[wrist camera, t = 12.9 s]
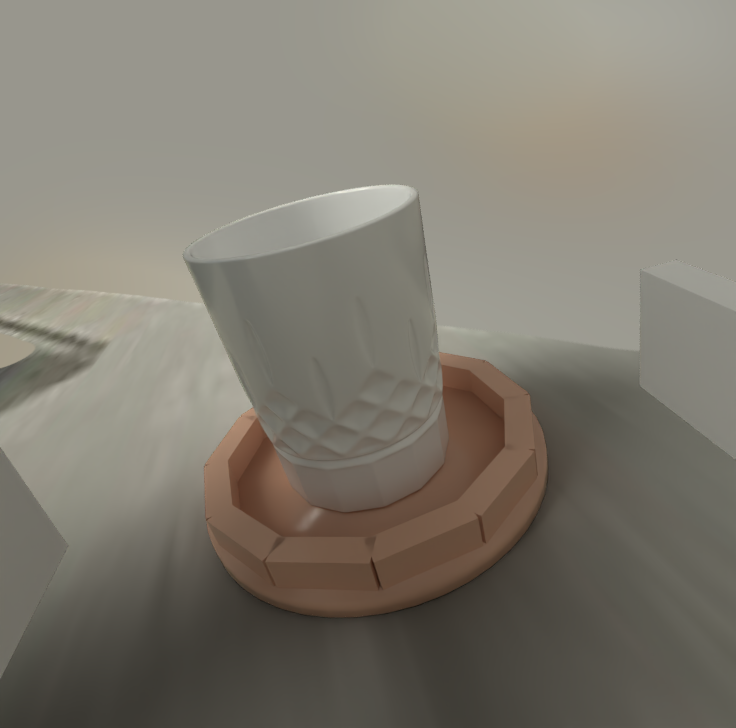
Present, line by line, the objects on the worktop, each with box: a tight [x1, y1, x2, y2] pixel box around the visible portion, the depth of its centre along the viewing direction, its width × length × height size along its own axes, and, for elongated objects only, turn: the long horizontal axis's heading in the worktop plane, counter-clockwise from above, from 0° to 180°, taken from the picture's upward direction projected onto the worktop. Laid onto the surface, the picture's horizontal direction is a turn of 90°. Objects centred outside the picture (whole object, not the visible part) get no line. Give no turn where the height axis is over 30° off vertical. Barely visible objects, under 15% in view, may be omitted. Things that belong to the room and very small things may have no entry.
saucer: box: [204, 352, 548, 618], centre depth 22 cm, size 14×14×2 cm
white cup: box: [183, 185, 449, 513], centre depth 19 cm, size 8×8×10 cm
